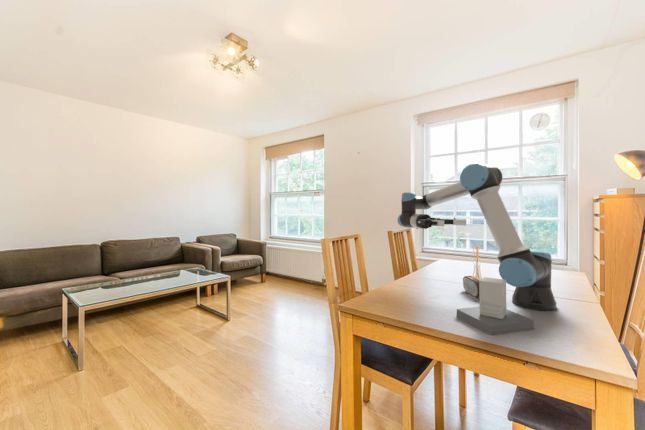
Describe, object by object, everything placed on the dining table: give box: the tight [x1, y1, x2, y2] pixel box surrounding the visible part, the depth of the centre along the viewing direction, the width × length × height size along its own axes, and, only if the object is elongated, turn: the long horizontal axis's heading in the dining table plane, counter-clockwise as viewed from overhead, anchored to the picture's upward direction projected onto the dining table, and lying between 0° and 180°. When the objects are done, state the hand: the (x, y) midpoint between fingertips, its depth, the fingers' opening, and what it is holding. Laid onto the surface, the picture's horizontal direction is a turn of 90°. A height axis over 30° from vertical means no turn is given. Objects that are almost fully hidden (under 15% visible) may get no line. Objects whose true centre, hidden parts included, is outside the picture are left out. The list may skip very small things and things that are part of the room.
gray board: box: [456, 306, 535, 336], centre depth 102 cm, size 18×16×3 cm
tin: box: [462, 275, 479, 299], centre depth 134 cm, size 15×3×8 cm, turn 178°
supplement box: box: [478, 276, 507, 319], centre depth 101 cm, size 7×7×13 cm
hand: (454, 223), depth 127 cm, fingers open, 13 cm apart
